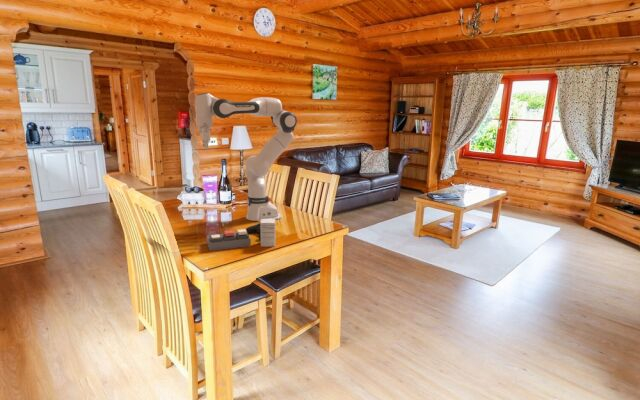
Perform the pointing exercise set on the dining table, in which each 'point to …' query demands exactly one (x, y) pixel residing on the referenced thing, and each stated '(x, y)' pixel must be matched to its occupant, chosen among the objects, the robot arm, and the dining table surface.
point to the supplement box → (267, 232)
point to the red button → (229, 233)
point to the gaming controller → (254, 230)
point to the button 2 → (242, 231)
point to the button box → (228, 241)
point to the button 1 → (215, 236)
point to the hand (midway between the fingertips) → (205, 147)
